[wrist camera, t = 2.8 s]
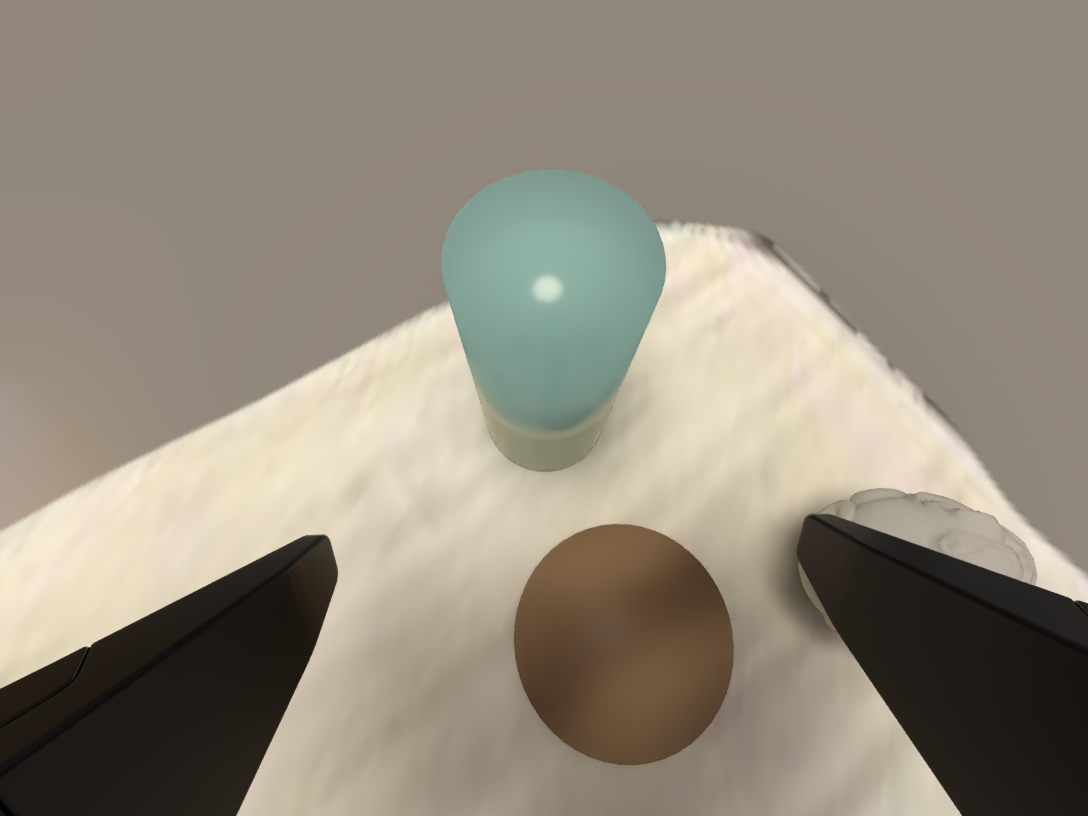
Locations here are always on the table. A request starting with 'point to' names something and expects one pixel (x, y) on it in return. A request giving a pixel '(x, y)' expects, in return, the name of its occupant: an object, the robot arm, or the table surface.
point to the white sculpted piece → (935, 532)
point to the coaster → (623, 644)
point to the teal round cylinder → (551, 306)
